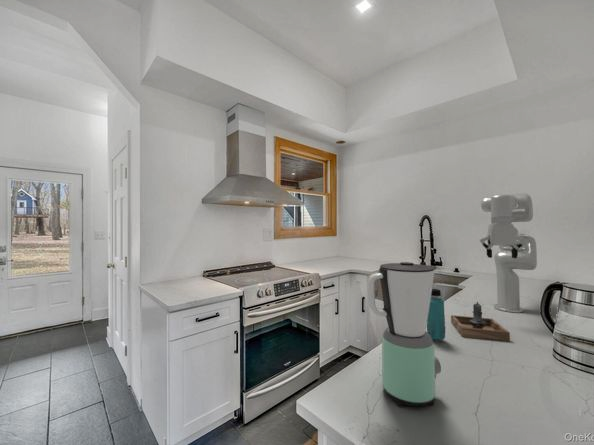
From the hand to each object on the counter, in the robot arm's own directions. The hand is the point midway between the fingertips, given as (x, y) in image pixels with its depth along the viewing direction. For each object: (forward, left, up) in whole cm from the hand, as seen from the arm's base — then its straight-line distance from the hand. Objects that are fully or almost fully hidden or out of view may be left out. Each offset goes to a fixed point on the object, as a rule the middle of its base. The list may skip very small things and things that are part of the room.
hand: (501, 257), depth 123 cm
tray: (+15, -15, -30) cm, 37 cm away
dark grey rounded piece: (+15, -15, -30) cm, 37 cm away
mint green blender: (+70, -49, -31) cm, 91 cm away
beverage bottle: (+30, -34, -31) cm, 55 cm away
